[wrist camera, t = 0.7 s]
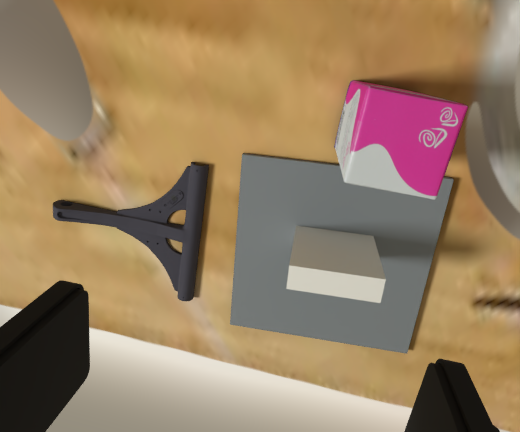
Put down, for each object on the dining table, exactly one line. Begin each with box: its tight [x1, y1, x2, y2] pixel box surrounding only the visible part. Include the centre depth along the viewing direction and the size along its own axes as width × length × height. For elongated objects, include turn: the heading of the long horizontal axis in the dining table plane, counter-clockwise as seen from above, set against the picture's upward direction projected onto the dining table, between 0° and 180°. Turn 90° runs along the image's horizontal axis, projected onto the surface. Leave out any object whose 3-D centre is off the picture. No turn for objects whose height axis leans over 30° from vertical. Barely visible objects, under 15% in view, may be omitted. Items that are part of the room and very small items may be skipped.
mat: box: [230, 153, 454, 353], centre depth 38 cm, size 18×18×1 cm
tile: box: [286, 226, 386, 303], centre depth 34 cm, size 2×7×8 cm, turn 85°
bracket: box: [53, 162, 209, 301], centre depth 40 cm, size 14×15×3 cm
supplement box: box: [334, 80, 468, 200], centre depth 28 cm, size 6×6×12 cm
